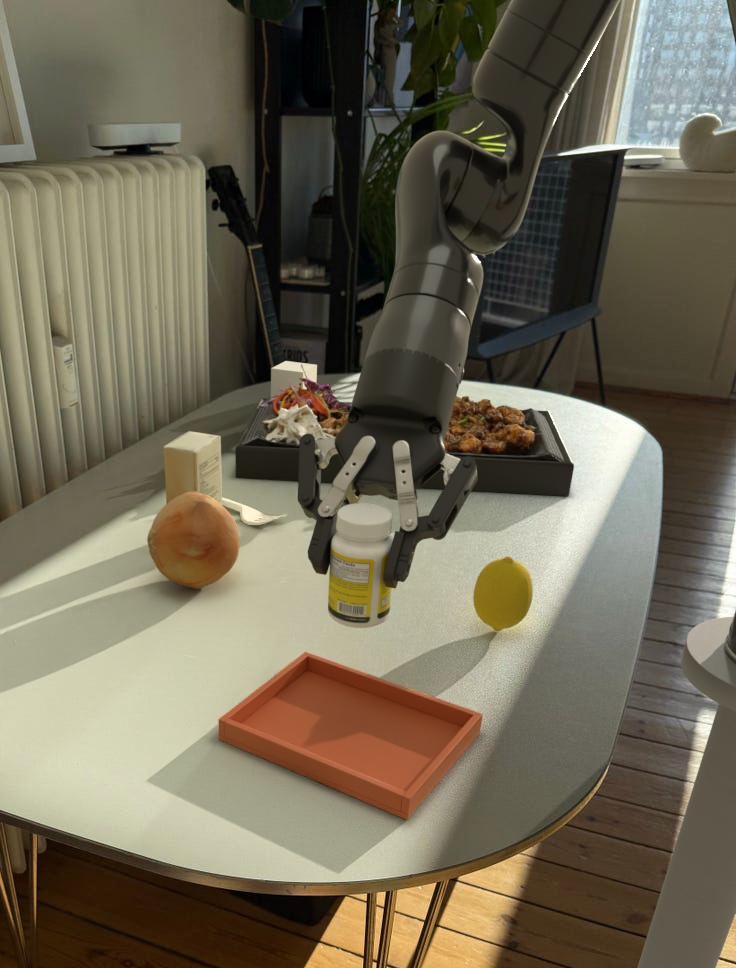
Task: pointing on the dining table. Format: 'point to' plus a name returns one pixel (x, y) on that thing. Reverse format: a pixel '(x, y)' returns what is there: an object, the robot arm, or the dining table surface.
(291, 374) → the off-white cube
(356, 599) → the supplement bottle
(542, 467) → the food platter
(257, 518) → the fork
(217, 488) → the cosmetic box
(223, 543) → the onion
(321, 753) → the tray
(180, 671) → the dining table surface
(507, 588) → the lemon
